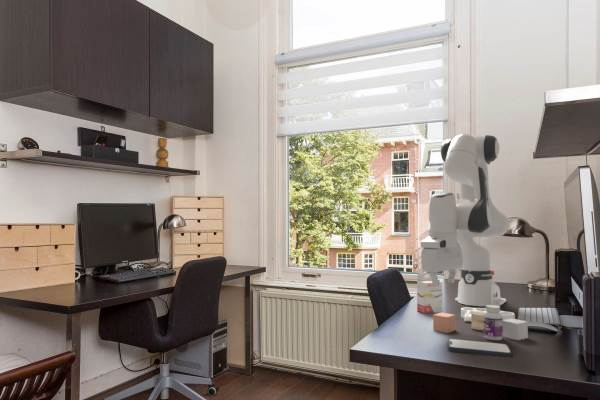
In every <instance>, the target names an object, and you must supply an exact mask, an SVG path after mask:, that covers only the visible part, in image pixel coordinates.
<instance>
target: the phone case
mask: <svg viewBox="0 0 600 400" xmlns="http://www.w3.org/2000/svg"><path fill="white" fill-rule="evenodd" d="M447 348H448V352H451V353H462V354H463V353H464V354H472V355H485V356H486V355H487V356H495V355H499V356H498V357H507V356H510V357H512V356H513V352H512V350H511V348H510V347H509V345H508V344H505V343H496V342H486V341H477V340H476V341H475V340H466V339H465V340H463V339H455V338H454V339H452V338H449V339H447Z"/></svg>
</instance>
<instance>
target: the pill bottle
mask: <svg viewBox="0 0 600 400" xmlns="http://www.w3.org/2000/svg"><path fill="white" fill-rule="evenodd" d="M485 308H486V311H487V312H485V313H484V316H483V317H484V330H483V337H484V338H485V339H486V340H490V341H501V340H503V339H504V337H503V316H502V314H501V313H499V312H500V311H501V306H496V305H486V306H485Z"/></svg>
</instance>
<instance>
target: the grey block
mask: <svg viewBox="0 0 600 400" xmlns="http://www.w3.org/2000/svg"><path fill="white" fill-rule="evenodd" d="M528 332H529V329H528V321H526V320H522V319H516V318H515V319H507V320H503V338H507V339H511V340H514V341H518V340H519V341H522V340H525V338H526V339H528V338H529V336H528V335H529V333H528ZM521 339H522V340H521Z"/></svg>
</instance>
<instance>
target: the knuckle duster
mask: <svg viewBox="0 0 600 400" xmlns="http://www.w3.org/2000/svg"><path fill="white" fill-rule="evenodd" d="M474 311H480V312H487V311H486V307H469V306H468V307H461V308H460V317H461V318H463V321H464V322H467V323H468V322H469V323H471V314H472V313H473V312H474ZM499 313H501V314H502V316H503V320H507V319H516V314H515V313H514V312H511V311H506V310H505V311H504V310H500V312H499Z"/></svg>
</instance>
